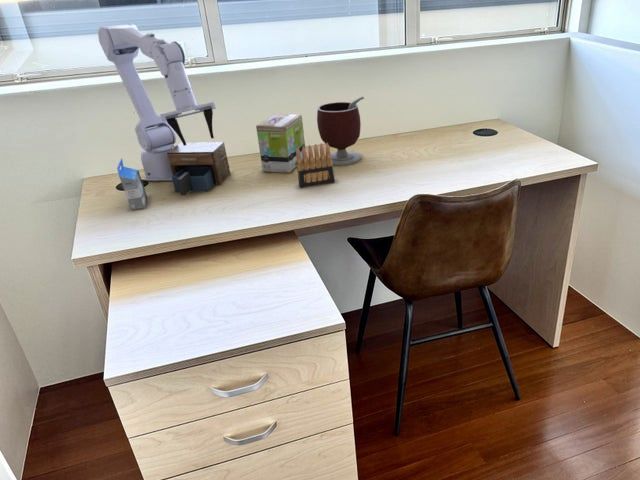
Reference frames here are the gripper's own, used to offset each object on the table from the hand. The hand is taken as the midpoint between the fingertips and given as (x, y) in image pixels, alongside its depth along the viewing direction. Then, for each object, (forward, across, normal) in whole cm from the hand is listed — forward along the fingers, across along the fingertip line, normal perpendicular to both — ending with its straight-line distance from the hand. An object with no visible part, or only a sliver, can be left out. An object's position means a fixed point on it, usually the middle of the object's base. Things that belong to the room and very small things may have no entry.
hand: (199, 141), depth 156 cm
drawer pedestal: (+12, -3, +16) cm, 20 cm away
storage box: (+13, -6, +9) cm, 17 cm away
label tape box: (+13, -22, +4) cm, 25 cm away
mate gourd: (+18, +43, +15) cm, 49 cm away
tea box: (+15, +24, +18) cm, 33 cm away
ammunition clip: (+20, +28, -3) cm, 35 cm away
